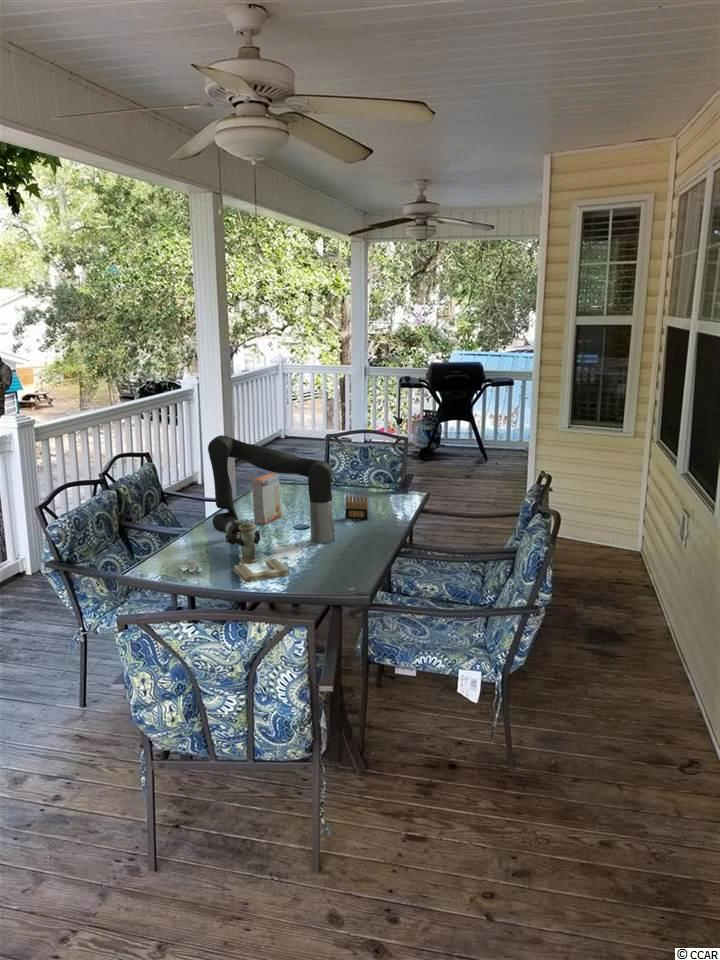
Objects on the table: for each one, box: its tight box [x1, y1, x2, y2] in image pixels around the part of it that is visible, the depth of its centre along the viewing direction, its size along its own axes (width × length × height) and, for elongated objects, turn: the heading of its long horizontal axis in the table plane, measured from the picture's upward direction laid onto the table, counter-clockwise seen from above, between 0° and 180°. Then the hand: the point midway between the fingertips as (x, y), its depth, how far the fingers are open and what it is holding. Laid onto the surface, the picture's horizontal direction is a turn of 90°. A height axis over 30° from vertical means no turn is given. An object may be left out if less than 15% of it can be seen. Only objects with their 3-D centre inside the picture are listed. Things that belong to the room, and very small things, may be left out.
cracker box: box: [251, 472, 282, 525], centre depth 322 cm, size 14×6×21 cm, turn 152°
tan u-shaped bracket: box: [233, 558, 290, 584], centre depth 257 cm, size 16×14×2 cm
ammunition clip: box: [344, 493, 369, 521], centre depth 323 cm, size 11×2×12 cm, turn 76°
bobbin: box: [239, 522, 258, 564], centre depth 268 cm, size 6×6×14 cm
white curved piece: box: [179, 559, 199, 571], centre depth 261 cm, size 9×8×4 cm
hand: (250, 542), depth 266 cm, fingers closed on bobbin, 5 cm apart
